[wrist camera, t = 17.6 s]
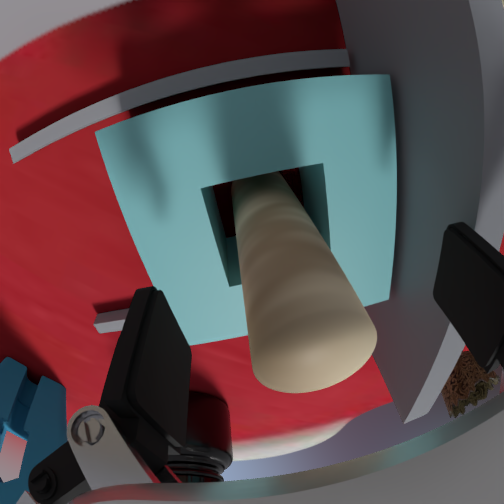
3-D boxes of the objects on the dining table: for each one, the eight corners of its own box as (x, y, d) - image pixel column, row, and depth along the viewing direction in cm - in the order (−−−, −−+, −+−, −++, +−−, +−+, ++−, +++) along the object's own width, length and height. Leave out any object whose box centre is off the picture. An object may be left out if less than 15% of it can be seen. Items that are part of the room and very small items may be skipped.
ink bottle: (141, 383, 26) (129, 495, 16) (230, 386, 27) (240, 501, 17) (157, 424, 31) (153, 511, 20) (228, 427, 32) (235, 514, 22)
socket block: (344, 75, 14) (389, 74, 9) (358, 255, 20) (388, 299, 16) (129, 118, 14) (94, 132, 10) (189, 292, 20) (184, 346, 16)
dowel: (281, 158, 16) (383, 295, 6) (289, 209, 18) (370, 374, 8) (225, 170, 16) (239, 329, 6) (237, 220, 18) (263, 401, 8)
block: (-3, 367, 24) (-45, 496, 7) (-7, 347, 22) (-58, 490, 5) (76, 408, 28) (54, 546, 11) (80, 393, 26) (53, 550, 9)
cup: (474, 322, 28) (507, 368, 21) (465, 354, 31) (491, 396, 25) (427, 350, 28) (457, 403, 22) (422, 379, 32) (445, 425, 25)
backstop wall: (354, -40, 10) (458, -99, 1) (379, 322, 24) (427, 413, 16) (0, 59, 10) (-115, 78, 1) (137, 371, 25) (123, 468, 16)
